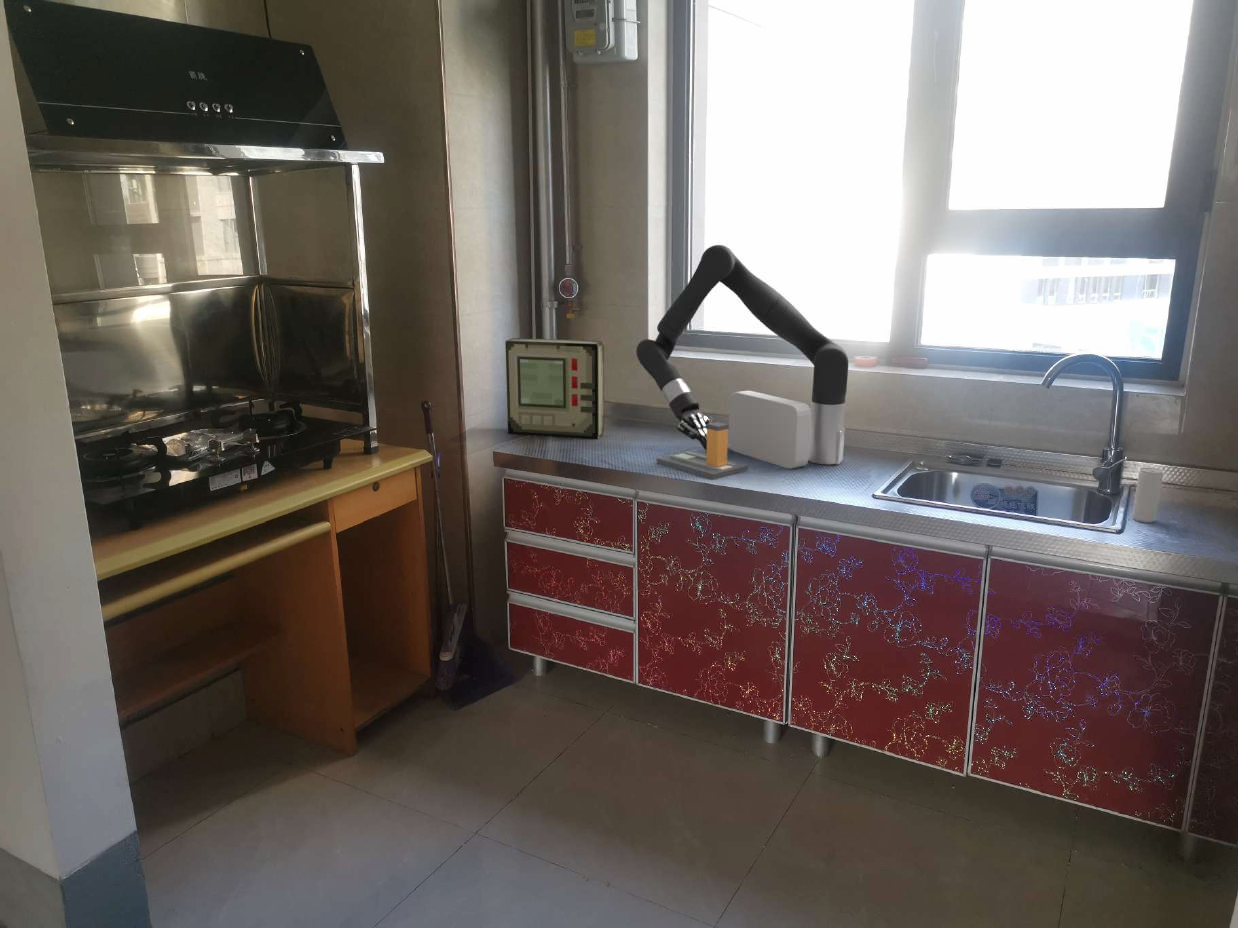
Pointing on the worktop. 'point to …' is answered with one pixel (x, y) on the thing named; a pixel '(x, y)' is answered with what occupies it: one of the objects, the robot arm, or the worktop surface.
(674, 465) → the plate
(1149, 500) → the beverage can
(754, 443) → the rounded white slab
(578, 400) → the control panel
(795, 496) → the worktop surface
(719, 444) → the handle
